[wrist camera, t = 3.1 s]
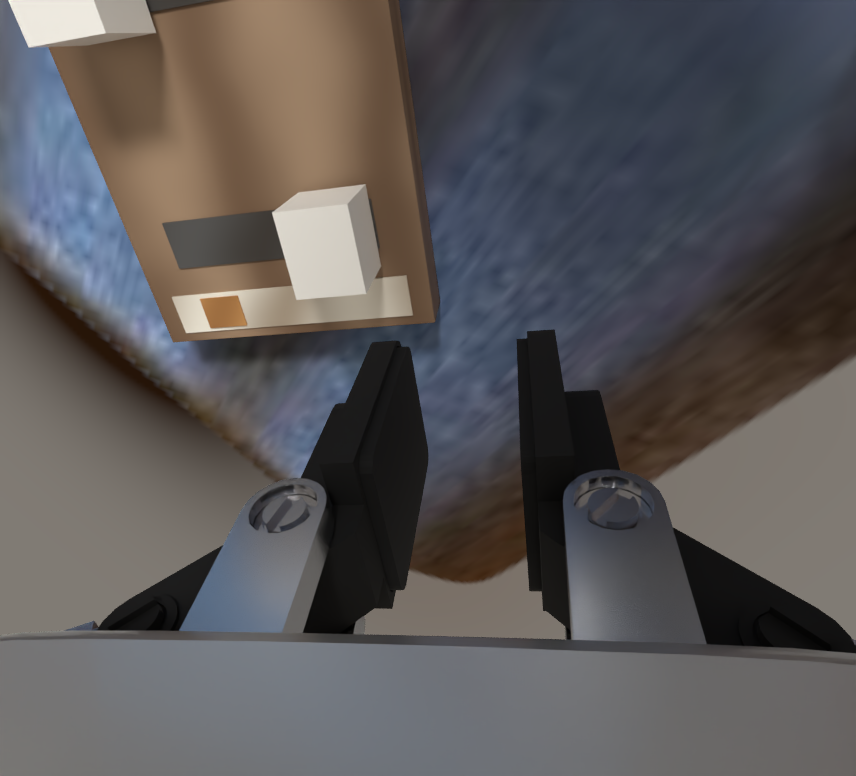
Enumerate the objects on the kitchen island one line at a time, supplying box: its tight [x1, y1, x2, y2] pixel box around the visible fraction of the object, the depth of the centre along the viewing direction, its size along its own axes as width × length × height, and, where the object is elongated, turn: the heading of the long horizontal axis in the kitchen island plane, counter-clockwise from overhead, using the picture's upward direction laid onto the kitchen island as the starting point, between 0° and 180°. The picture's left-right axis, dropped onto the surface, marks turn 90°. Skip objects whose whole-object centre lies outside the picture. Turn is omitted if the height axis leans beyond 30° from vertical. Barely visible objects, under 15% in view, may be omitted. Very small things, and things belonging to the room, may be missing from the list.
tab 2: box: [272, 184, 381, 300], centre depth 23 cm, size 3×4×3 cm
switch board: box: [49, 0, 440, 342], centre depth 24 cm, size 14×20×3 cm
